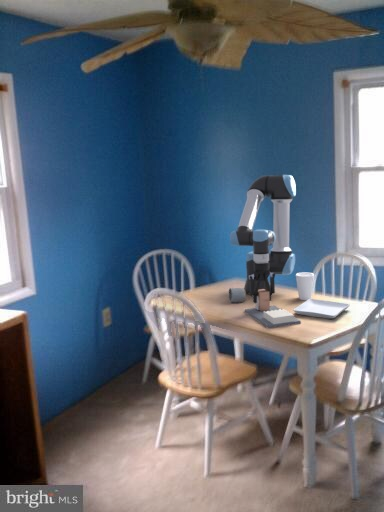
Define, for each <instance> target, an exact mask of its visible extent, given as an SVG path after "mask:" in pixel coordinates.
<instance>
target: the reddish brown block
mask: <svg viewBox="0 0 384 512" xmlns="http://www.w3.org/2000/svg"><path fill="white" fill-rule="evenodd" d="M257 296H258V297H259V310H260V311H263V310H270V306H271V305H270V302H271V301H270V299H269V291H267V290H265V289H260V290H258V294H257Z"/></svg>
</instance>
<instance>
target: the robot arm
mask: <svg viewBox="0 0 384 512" xmlns="http://www.w3.org/2000/svg"><path fill="white" fill-rule="evenodd" d="M296 194H297V188H296V181H295V179H294V177H293V175H291V174H273V175H272V174H270V175H267V174H266V175H262V176H259V177H258V178H257V179H255V180H254V181H253V182H252V183H251V184H250V185H249V187H248V189H247V192H246V201H245V204H244V207H243V210H242V213H241V216H240V220H239V223H238V226H237V229H236V230H233V231H231V232H230V234H229V240H230V244H231V245H232V246H238V247H240V246H241V247H248V246H249V247H252V249H253V251H249V252H248V253H246V256H245V257H246V259H245V265H246V266H245V267H246V280H245V283H244V287H243V288H244V289H245V291H246V295H250V296H252V297H253V299H252V300H253V301H252V302H253V303H254V308H255V309H257V310H259V297H258V296H257V294H258V290H260V289H265V290H267V291H269V299H270V302H271V301H272V295H273V294H275V293H276V291H275V290H276V289H275V286H276V285H275V277H276V275H277V276H278V275H281V276H289V275H291V274H292V273H293V271H294V270H295V264H296V254H295V253H293V250H292V249H291V248H290V212H291V210H290V205H291V204H290V203H291V202H292V201H293V198H294V197H296ZM269 197H270V201H271V202H272V203H273V220H272V221H273V222H272V223H273V226H272V228H273V230H270V229H269V230H268V229H255V230H254V225H255V224H256V219H257V215H258V212H259V208H260V206H261V202H263V201H264V199H265V198H269ZM270 246H273V247H272V248H271V249H270ZM269 249H270V250H269Z"/></svg>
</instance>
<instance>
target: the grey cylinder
mask: <svg viewBox="0 0 384 512" xmlns="http://www.w3.org/2000/svg"><path fill="white" fill-rule="evenodd" d="M228 300H229V302H230V304H231V303H232V304H233V303H242V302H245V301H246V300H247V294H246V291H245V289H244V287H243V288H242V287H241V288H240V287H229V289H228Z"/></svg>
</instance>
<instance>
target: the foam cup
mask: <svg viewBox="0 0 384 512" xmlns="http://www.w3.org/2000/svg"><path fill="white" fill-rule="evenodd" d="M295 280H296V287H297V293H298V299H299V300H302V301H307V300H309V299H312V297H313V288H314V280H315V274H314V273H313V272H305V271H304V272H303V271H302V272H297V273H296V274H295Z"/></svg>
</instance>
